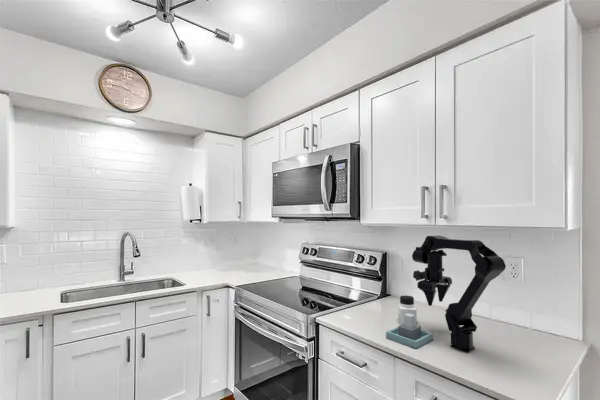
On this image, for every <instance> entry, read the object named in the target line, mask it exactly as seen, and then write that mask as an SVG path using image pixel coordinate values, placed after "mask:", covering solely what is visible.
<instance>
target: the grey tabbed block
mask: <svg viewBox="0 0 600 400" xmlns="http://www.w3.org/2000/svg"><path fill="white" fill-rule="evenodd" d="M397 327H398V335H400V336H403V337H406V338H409V339H411V340H414V341H416V340H418V339H420V338H421V330H422V326H420V325H417V324H416V325H415V315H412V314H409V313H408V314H405V315H404V324H400V325H398V326H397Z"/></svg>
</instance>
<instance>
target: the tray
mask: <svg viewBox="0 0 600 400" xmlns="http://www.w3.org/2000/svg"><path fill="white" fill-rule="evenodd" d="M385 336H386V337H385V339H388V340H390V341H393V342H395V343H398V344H401V345H404V346H406V347H409V348H412V349H415V350H417V349H420V348H421V347H423V346H426V345H427V344H428V343H431V342H432V341H434V333H432V332H429V331H426V330H422V329H421V338H420V339H418V340H416V341H414V340H411V339H409V338H406V337H403V336H400V335H398V326H397V327H394V328H392V329H389V330H387V331H386V332H385Z"/></svg>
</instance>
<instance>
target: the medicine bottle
mask: <svg viewBox="0 0 600 400" xmlns="http://www.w3.org/2000/svg"><path fill="white" fill-rule="evenodd" d="M399 298H400V299H399V302H400V303H399V304H397V310H398V311H397V313H398V314H397V319H398V322H399V324H400V325H402V324H404V315H405V314H408V313H409V314H412V315H415V325H417V309H416V307H415V300H414V299H415V298H414V297H413V296H412V295H408V294H403V295H400V296H399Z"/></svg>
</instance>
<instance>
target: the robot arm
mask: <svg viewBox="0 0 600 400" xmlns="http://www.w3.org/2000/svg"><path fill="white" fill-rule="evenodd" d="M443 249H450V250H459V251H460V250H462V251H467V252H469V254H470V258H471V260H472V261H473V262H474V263H475V266H474V276H473V278H472V280H470V282H469V284H468V286H467V287H466V289H465V290H464V292H463V294H462V296H461V297H460V299H459V300H458V302H451V303H449V304H448V306H447V309H446V310H444V311H445V315H444V317H445V322H446V324H447V329H448V331H450V346H449V347H450V348H451V349H454V350H455V349H456V350H458V351H461V352H464V353H466V354H469V353H470V352H472V351H473V350H474V349H476V347H475V346H474V336H473V335H474V333H475V332H476V331H477V328H478V326H477V325H476V323H475V322H474V321H473V319H472V317H473V312H472V311H473V308H474V307H475V306H476V304H477V302H478V300H479V299H480V297H481V295H482V294H483V293H484V291H485V290H486V289H487V287H488V286H489V283H490V282H491V281H492V280H494V279H496V278H497V277H499V276H500V275H501V274H502V273H503V272H504V271H505V269H506V267H507V265H506V263H505V262H506V261H504V259H503V257H500V256H499V255H498V254H497V253H496V252H495V251H494V250H492V249H491V248H490V247H488V246H486V245H485V243H483V241H481V240H478V239H472V240H471V239H457V238H448V237H446V236H443V235H426V237H425V239H424V241H423V243H422V244H421V246H416V247H415V249H414V251H413V252H412V255H411V257H412V261H414V262H415V263H420V264H424V265H427V267H425V268H424V271H420V270H419V269H417V270H414V271H413V274H412V278H413V279H414V280H415V281H416V282H417V285H416V286H417V289H419V290H420V291H422V292H423V293H424V296H425V298H426V302H427V304H428V306H430V307H431V306H432V305H433V303H434V299H435V296H436V293H437V297H438V302H440V303H441V302H443V300H444V298H445V297H446V294H447V293H448V291H449V289H450V287H451V285H453V280H452V278H451V277H450V276H444V275H443V274H444V273H443V272H445V268H444V267H443V257H446V256H448V255H447V253H446V251H444V250H443Z"/></svg>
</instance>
